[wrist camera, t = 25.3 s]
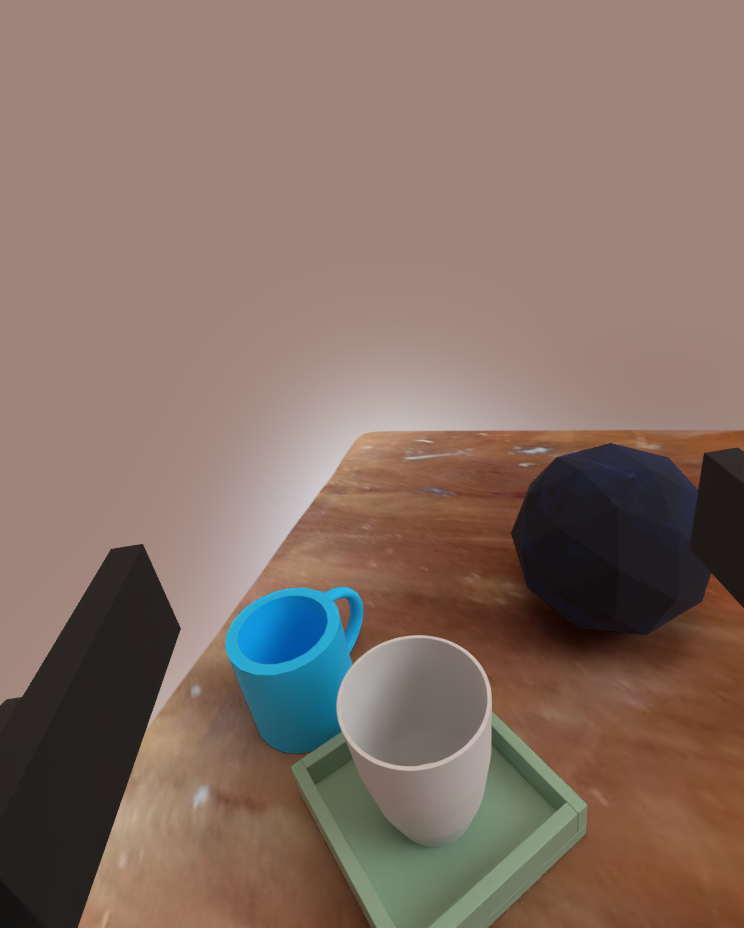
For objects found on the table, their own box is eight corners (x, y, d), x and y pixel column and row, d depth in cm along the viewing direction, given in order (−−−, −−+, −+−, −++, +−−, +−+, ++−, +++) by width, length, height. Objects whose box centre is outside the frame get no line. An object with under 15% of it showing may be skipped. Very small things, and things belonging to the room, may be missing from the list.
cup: (512, 760, 35) (505, 650, 30) (483, 903, 29) (469, 793, 24) (394, 727, 38) (372, 624, 33) (345, 849, 32) (309, 742, 27)
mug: (312, 774, 37) (284, 695, 33) (233, 722, 42) (201, 646, 38) (406, 651, 45) (392, 575, 41) (331, 618, 50) (312, 548, 46)
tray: (410, 1002, 26) (402, 977, 25) (299, 793, 36) (289, 766, 35) (586, 833, 32) (588, 804, 30) (447, 690, 41) (443, 663, 40)
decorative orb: (519, 484, 55) (507, 415, 41) (690, 487, 50) (737, 410, 37) (514, 632, 49) (498, 606, 36) (703, 651, 44) (764, 630, 31)
